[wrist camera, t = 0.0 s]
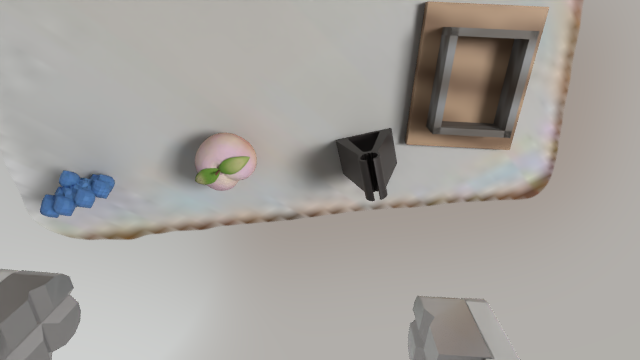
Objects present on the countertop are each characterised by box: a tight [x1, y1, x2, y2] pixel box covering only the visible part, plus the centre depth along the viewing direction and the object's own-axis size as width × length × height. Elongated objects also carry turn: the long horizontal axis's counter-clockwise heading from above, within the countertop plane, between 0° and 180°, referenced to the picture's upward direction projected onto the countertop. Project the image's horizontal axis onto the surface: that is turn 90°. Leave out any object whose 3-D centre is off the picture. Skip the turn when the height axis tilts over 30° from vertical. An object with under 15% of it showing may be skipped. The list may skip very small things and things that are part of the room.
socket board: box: [405, 2, 549, 150], centre depth 49 cm, size 20×16×6 cm
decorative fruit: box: [195, 133, 257, 191], centre depth 53 cm, size 9×8×10 cm
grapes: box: [40, 171, 115, 218], centre depth 55 cm, size 12×7×12 cm, turn 106°
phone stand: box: [336, 128, 397, 201], centre depth 51 cm, size 9×6×12 cm, turn 103°
